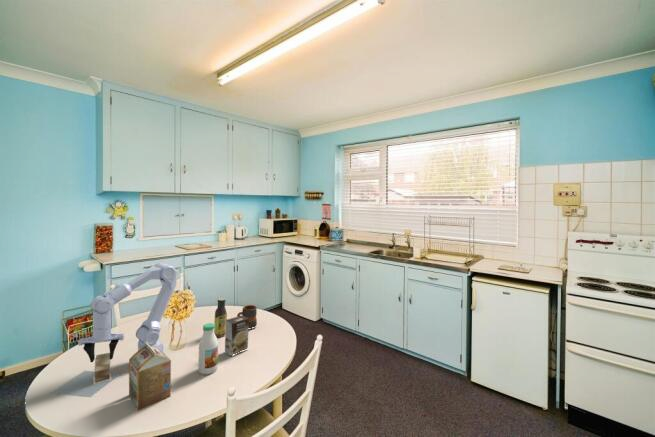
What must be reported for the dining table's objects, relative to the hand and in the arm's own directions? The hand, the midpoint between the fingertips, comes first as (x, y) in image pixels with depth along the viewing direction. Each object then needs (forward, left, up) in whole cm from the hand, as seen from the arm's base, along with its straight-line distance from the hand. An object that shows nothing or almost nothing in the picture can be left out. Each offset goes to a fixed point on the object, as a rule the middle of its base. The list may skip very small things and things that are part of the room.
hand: (102, 359), depth 117 cm
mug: (-40, -55, -8) cm, 68 cm away
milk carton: (-25, +7, -8) cm, 27 cm away
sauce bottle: (-29, -44, -8) cm, 53 cm away
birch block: (0, 0, -3) cm, 3 cm away
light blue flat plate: (+3, +3, -8) cm, 9 cm away
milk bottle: (-38, -12, -8) cm, 41 cm away
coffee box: (-44, -29, -8) cm, 53 cm away
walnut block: (0, 0, -8) cm, 8 cm away
